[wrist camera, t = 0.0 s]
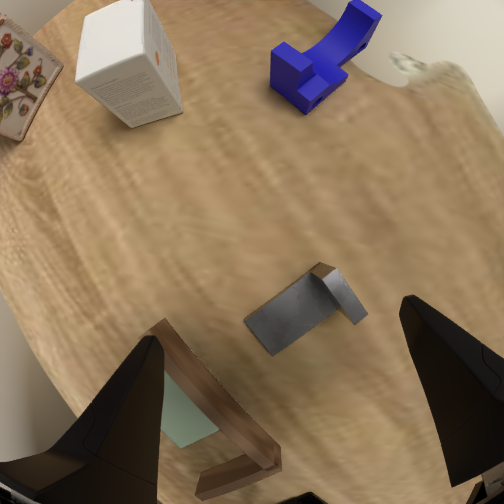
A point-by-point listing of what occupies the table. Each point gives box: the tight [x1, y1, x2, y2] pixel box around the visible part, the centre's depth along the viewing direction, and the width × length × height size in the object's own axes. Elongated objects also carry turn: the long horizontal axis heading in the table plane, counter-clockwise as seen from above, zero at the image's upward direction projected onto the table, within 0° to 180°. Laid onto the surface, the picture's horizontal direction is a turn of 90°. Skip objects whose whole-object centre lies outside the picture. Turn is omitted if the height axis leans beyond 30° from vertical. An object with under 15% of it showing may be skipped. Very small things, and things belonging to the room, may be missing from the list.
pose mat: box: [161, 370, 220, 449], centre depth 25 cm, size 10×6×1 cm, turn 37°
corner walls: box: [139, 318, 282, 501], centre depth 23 cm, size 18×10×4 cm, turn 37°
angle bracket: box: [244, 262, 368, 356], centre depth 22 cm, size 8×4×6 cm, turn 127°
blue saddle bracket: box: [270, 0, 382, 115], centre depth 21 cm, size 12×4×6 cm, turn 135°
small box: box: [75, 0, 183, 128], centre depth 19 cm, size 8×6×10 cm
